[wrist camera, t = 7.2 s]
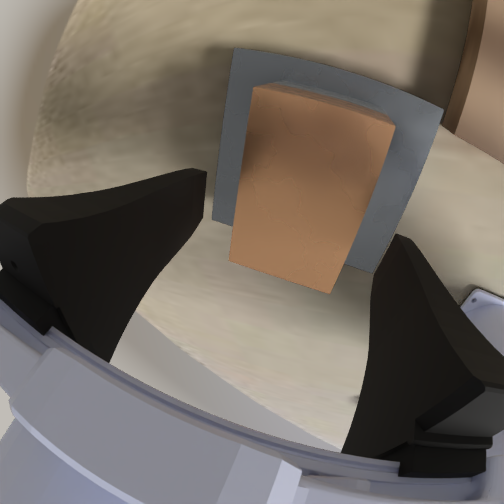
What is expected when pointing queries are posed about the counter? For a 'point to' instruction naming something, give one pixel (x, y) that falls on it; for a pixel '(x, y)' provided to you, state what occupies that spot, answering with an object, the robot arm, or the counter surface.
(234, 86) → the stand
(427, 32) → the counter surface
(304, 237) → the block
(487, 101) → the stand
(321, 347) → the counter surface
